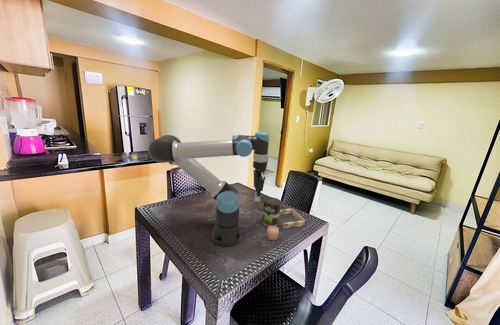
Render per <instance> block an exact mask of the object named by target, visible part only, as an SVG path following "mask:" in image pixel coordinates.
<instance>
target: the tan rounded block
mask: <svg viewBox="0 0 500 325" xmlns="http://www.w3.org/2000/svg"><path fill="white" fill-rule="evenodd" d="M266 230H267V231H266V238H267V239H268V240H270V241H277V240H278V239H279V232H280V228H279V227H277V226H267V229H266Z"/></svg>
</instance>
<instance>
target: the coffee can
mask: <svg viewBox="0 0 500 325" xmlns="http://www.w3.org/2000/svg"><path fill="white" fill-rule="evenodd" d="M281 205H282V200H280V199H279V198H276V197H272V196H271V197H270V196H269V197H265V198H264V199H263V207H262V208H263V209H262V218H261V223H262V224H263V226H265V227H269V226H276V227H277V226H278V225H280V223H279V222H280V216H281V215H280V210H281V208H282V207H281Z"/></svg>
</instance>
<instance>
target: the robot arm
mask: <svg viewBox="0 0 500 325" xmlns="http://www.w3.org/2000/svg"><path fill="white" fill-rule="evenodd" d="M269 143H270V134H269V133H268V132H264V131H256V132H255V133H254V135H244V134H243V135H242V134H234V135H233V134H232V139H222V140H220V139H219V140H205V141H203V140H202V141H187V142H186V141H184V142H182V141H181V139H179V138H178V136H176V135H172V134H166V135H162V136H160V137H158V138H155V139H154V140H152V141H150V143H149V146H148V147H147V148H148V150H147V152H148V156H149V157H150V159H152V160H153V161H155V162H156V163H161V164H163V163H168V164H169V165H170V166H176V167H178V168H179V169H181V171H183V172H184V173H185V174H187V175H188V176H189V177H191V179H193V180H194V181H195V182H197V183H198V184H199V185H200V186H202V187H203V188H204V190H206V191H208V192H209V193H210V197H211V198H212V199H213V200H214V201H215V224H214V227H213V229H212V233H211V240H212V242H213V243H214V244H216V245H217V246H220V247H232V246H235V245H237V244H239V243H240V242H241V238H242V233H241V228H240V225H239V222H240V221H239V218H240V205H241V200H240V192H239V190H238V188H237V187H236V186H235V185H234V184H232V183H229V182H227V181H226V180H221V179H219V178H218V177H217V176H216V175H214V174H213V173H212V172H211V171H210V170H208V169H207V168H206V167H205V166H204V165H203V164H201V162H199V161H197V159H201V158H216V157H217V158H218V157H231V156H232V157H233V156H240V157H242V158H247V157H248V156H250V155H251V154H252V152H253V155H252V156H253V162H252V167H253V188H254V189H255V191H254V202H256V203H257V202H260V201H261V192H263V190H264V185H265V180H266V176H265V175H264V174H265V172H264V171H265V170H266V169H267V167H268V157H269V155H268V154H269Z"/></svg>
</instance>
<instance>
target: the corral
mask: <svg viewBox="0 0 500 325" xmlns="http://www.w3.org/2000/svg"><path fill="white" fill-rule="evenodd" d="M290 214H291V215H292V216H293V217H295V219H296V221H287V222H282V226H281V228H282V230H284V229H285V230H286V229H292V228H297V227H306V226H307V220H306V219H305V218H304V217H303V216H302V215H300V213H298V212H297V210H295V209H294V208H284V209H280V216H282V215H290Z"/></svg>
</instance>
